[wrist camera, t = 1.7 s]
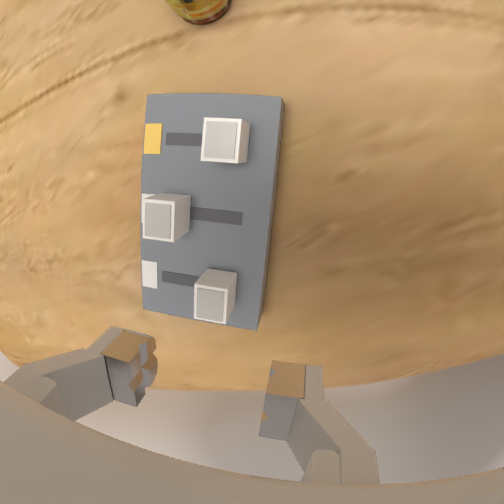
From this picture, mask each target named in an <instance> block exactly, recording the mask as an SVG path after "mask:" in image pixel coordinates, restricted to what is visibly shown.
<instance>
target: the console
mask: <svg viewBox="0 0 504 504" xmlns="http://www.w3.org/2000/svg"><path fill="white" fill-rule="evenodd" d="M283 113H284V102H283V99H282V97H276V96H263V95H246V94H219V93H177V94H151V95H147V105H146V115H145V127H144V141H143V157H142V178H141V276H142V298H143V309H145V310H150V311H154V312H159V313H164V314H168V315H173V316H178V317H183V318H188V319H193V320H199V319H194V284H195V283H196V281H197V280H198V279H199V278H200V277H201V275H202V274H203V273H204V272H205V271H206V269H207V268H209V269H215V270H222V271H229V272H236V273H237V283H236V295H235V305H234V308H233V310H232V312H231V314H230V316H229V318H228V320H227V322H226V324H221V323H215V322H210V321H204V320H199V321H204V322H209V323H215V324H220V325H226V326H232V327H238V328H244V329H250V330H256V331H257V329H258V325H259V322H260V318H261V315H262V309H263V301H264V292H265V283H266V275H267V266H268V257H269V248H270V239H271V230H272V221H273V212H274V203H275V193H276V184H277V174H278V164H279V154H280V144H281V134H282V124H283ZM204 117H208V118H232V119H242V120H244V121H246V122H248V123H250V132H249V143H248V154H247V162H245V163H226V162H213V161H201V148H202V136H203V124H204ZM160 193H171V194H182V195H191V206H190V227H189V232H188V233H186V234H185V235H183V236H182V237H180V238H179V239H178V240H176V241H175V242H167V241H160V240H153V239H146V238H143V199H144V198H147V197H150V196H153V195H157V194H160Z"/></svg>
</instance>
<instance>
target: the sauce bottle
mask: <svg viewBox="0 0 504 504" xmlns="http://www.w3.org/2000/svg"><path fill="white" fill-rule="evenodd" d="M165 1H166V2H167V3H168V4H169V5H170V6H171V7H172V8H173V9H174V11H175V12H176V13H177V14H178V15H179V16H181V17H182V18H183V19H184V20H186V21H188V22H190V23H194V24H204V23H207V22H210V21H213V20H215V19H217V18H219V17H220V16H221V15H223V14H224V12H225V11H226V9H227V8H228V5H229V2H230V0H165Z"/></svg>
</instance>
